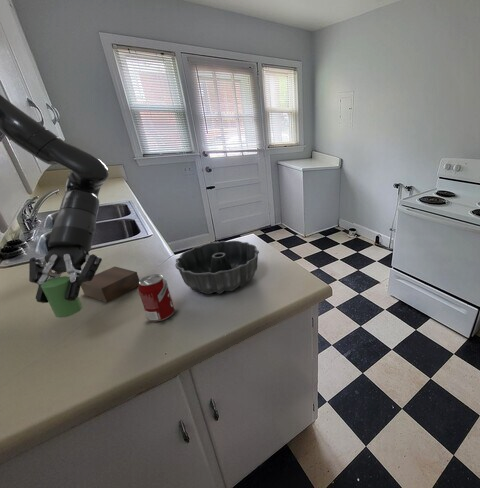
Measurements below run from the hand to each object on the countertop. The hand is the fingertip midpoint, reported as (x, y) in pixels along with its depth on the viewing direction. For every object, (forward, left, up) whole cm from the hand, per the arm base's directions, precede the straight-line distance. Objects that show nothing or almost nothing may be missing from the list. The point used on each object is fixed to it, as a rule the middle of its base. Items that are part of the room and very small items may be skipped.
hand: (56, 300), depth 60 cm
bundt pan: (+39, -10, -14) cm, 42 cm away
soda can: (+17, -7, -14) cm, 23 cm away
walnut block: (+21, +20, -14) cm, 32 cm away
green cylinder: (+2, +1, -4) cm, 5 cm away
